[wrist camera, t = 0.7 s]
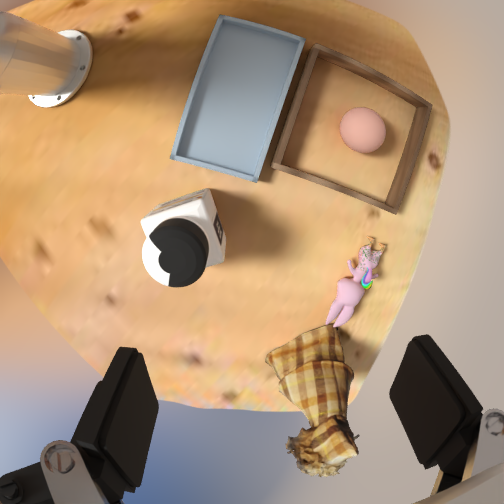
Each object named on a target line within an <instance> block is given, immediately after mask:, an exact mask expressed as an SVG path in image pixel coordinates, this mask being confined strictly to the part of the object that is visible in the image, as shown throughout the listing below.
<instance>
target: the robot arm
mask: <svg viewBox="0 0 504 504" xmlns="http://www.w3.org/2000/svg"><path fill="white" fill-rule="evenodd" d="M92 55H93V51H92V45H91V43H90V40H89V39H88V38H87V36H86V35H84V34H83V33H81V32H79V31H77V30H64V31H60V32H58V33H56V32H54V31H52V30H50V29H47V28H45V27H43V26H41V25H38V24H36V23H33V22H31V21H28V20H26V19H23V18H21V17H18V16H15V15H13V14H10V13H7V12H2V11H0V94H12V95H27V96H29V98H30V100H31V101H32V102H33V103H34V104H36V105H38V106H40V107H49V108H50V107H56V106H58V105H61V104H63V103H64V102H66V101H68V100H69V99H70V98H71V97H72V96H73V95H74V94H75V93H76V92H77V91H78V90H79V89H80V87H81V86H82V84H83V83H84V81H85V79H86V77H87V75H88V73H89V70H90V68H91V63H92ZM389 395H390V399H391V401H392V403H393V406H394V408H395V410H396V412H397V414H398V416H399V418H400V420H401V423H402V425H403V427H404V429H405V432H406V434H407V436H408V438H409V440H410V443H411V445H412V447H413V450H414V452H415V454H416V456H417V459H418V461H419V463H420V464H423V465H424V467H425V469H428V468H431V467H433V466H436V465H437V464H438V465H439V467H440V470H439V473H438V476H437V479H436V482H435V485H434V487H433V490H432V493H431V495H430V497H428V498H426V499H423V500H421V501H418V502H416V503H413V504H504V412H503V411H502V410H499V409H489V410H487V411H486V412H485V413H484V414H482V413H481V411H482V410H483V407H482V406H481V404H480V403H479V401H478V400H477V399H476V397H475V395H474V394H473V393H472V391H471V390H470V388H469V387H468V385H467V384H466V383H465V381H464V380H463V378H462V377H461V376H460V374H459V373H458V372H457V370H456V369H455V368H454V366H453V365H452V363H451V362H450V361H449V360H448V358H447V357H446V356H445V354H444V353H443V352H442V351H441V349H440V348H439V347H438V346H437V344H436V343H435V342H434V340H433V339H432V338H431V336H429V335H427V334H426V335H421V336H415V337H414V338H413V339H412V341H410V342H409V344H408V346H407V349H406V352H405V354H404V357H403V360H402V362H401V365H400V367H399V370H398V372H397V375H396V377H395V380H394V382H393V384H392V386H391V389H390V393H389ZM158 409H159V405H158V401H157V398H156V395H155V392H154V389H153V386H152V383H151V380H150V377H149V374H148V371H147V367H146V364H145V361H144V357H143V355H142V353H138V350H137V349H136V348H129V347H119V349H118V350H117V352H116V354H115V356H114V358H113V360H112V362H111V364H110V366H109V368H108V370H107V372H106V374H105V376H104V378H103V380H102V381H100V382H98V384H97V385H96V387H95V389H94V391H93V393H92V395H91V397H90V399H89V401H88V404H87V406H86V408H85V410H84V412H83V414H82V417H81V419H80V421H79V423H78V425H77V428H76V430H75V432H74V435H73V437H72V439H71V442H67V441H63V440H58V441H53V442H51V443H49V444H48V445H47V446H46V447H45V448H44V449H43V451H42V453H41V457H40V462H38V463H35V464H33V465H30V466H27V467H25V468H22V469H19V470H16V471H13V472H10V473H7V474H5V475H3V476H2V477H1V478H0V504H124V502H123V501H122V498H123V494H124V491H127V492H132V493H135V489H136V487H140V485H141V482H142V478H143V473H144V469H145V464H146V459H147V455H148V451H149V447H150V443H151V438H152V434H153V430H154V426H155V422H156V418H157V414H158Z"/></svg>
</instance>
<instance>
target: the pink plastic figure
mask: <svg viewBox="0 0 504 504" xmlns="http://www.w3.org/2000/svg"><path fill="white" fill-rule="evenodd" d="M367 238H368V239H370V244H369V245H366V246H362V247H361V248H360V250H359V264H358V266H357V267H356V268H355V269H354V268H353V267H352V265H351V260H348V261H347V263H348V267H349V269H350V271H351V273H352V274H353V276H354V278H351V279H348V278H342V279H340V280H339V281H338V286H337V297H336V299H335V300H334V301H333V303H332V305H331V308H330V311H329V313H328V316H327V320H326V325H328V324H329V323H330V322H331V321H333V320H334V319H335V318H336V317H337V315H338V314H339V313H340V311H341V310H342V311H341V313H340V314H339V316H338V318H337V320H336V322H335V324H334V325H333V327H338V326H341V325H343V324H345V323H346V322H347V321H348V320H349V319H350V318H351V316H352V315H353V312H354V307H355V306H356V305H357V304H358V303H359V301H360V299H361V298H362V296H363V295H364V289H370V288H371V286H372V282H373V280H372V281H371V279H373V278H376V277H378V274H377V273H376V274H374V275H372V269H374V268H375V267H376V266H377V265H378V262H379V259H380V256H381V254H382V253H383V249H384V247H385V246H384V244H381V243H379V244H380V246H381V247H382V249H381V250H380V251H375V250H373V251H371V244H372V240H374V239H373V238H371V237H368V236H367ZM360 281H361V284H362V285H361V284H360ZM343 306H344V307H343ZM342 308H343V309H342Z"/></svg>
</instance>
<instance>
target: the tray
mask: <svg viewBox="0 0 504 504" xmlns="http://www.w3.org/2000/svg"><path fill="white" fill-rule="evenodd" d="M305 40H306V39H305V38H302V37H299V36H297V35H294V34H291V33H288V32H285V31H282V30H279V29H275V28H272V27H269V26H265V25H262V24H258V23H254V22H251V21H247V20H243V19H238V18H234V17H230V16H225V15H219V17H218V20H217V22H216V24H215V27H214V29H213V31H212V34H211V36H210V39H209V41H208V44H207V46H206V49H205V51H204V54H203V57H202V59H201V62H200V65H199V67H198V70H197V73H196V76H195V78H194V81H193V84H192V87H191V90H190V93H189V96H188V99H187V102H186V105H185V108H184V111H183V115H182V118H181V121H180V124H179V128H178V131H177V134H176V138H175V141H174V145H173V149H172V152H171V156H170V159H172V160H176V161H180V162H184V163H188V164H192V165H196V166H199V167H203V168H207V169H211V170H214V171H218V172H221V173H225V174H228V175H232V176H235V177H239V178H242V179H245V180H249V181H252V182H255V183H257V181H258V178H259V175H260V172H261V169H262V166H263V163H264V160H265V157H266V154H267V151H268V148H269V145H270V142H271V139H272V136H273V133H274V130H275V127H276V124H277V121H278V118H279V115H280V112H281V109H282V106H283V103H284V100H285V97H286V95H287V92H288V89H289V86H290V83H291V80H292V77H293V74H294V71H295V69H296V66H297V63H298V60H299V57H300V54H301V52H302V49H303V46H304V43H305Z"/></svg>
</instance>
